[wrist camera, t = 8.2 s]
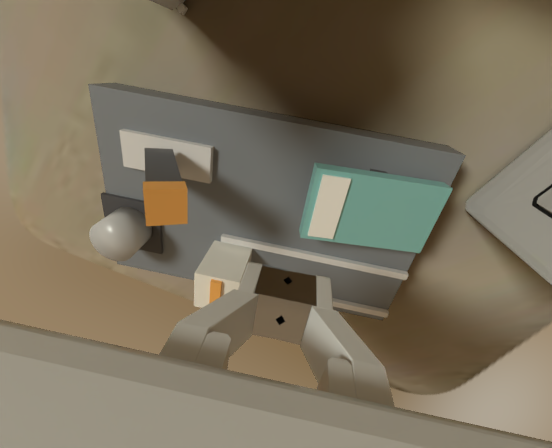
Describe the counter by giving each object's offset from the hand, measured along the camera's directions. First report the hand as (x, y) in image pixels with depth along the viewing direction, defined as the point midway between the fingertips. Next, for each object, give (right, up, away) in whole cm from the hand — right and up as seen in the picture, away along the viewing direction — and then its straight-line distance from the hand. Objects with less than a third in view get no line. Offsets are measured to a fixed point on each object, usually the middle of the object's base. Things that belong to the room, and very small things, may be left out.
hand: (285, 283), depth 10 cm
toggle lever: (-8, +6, +7) cm, 12 cm away
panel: (-1, +4, +12) cm, 13 cm away
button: (-11, +2, +11) cm, 16 cm away
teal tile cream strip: (+5, +3, +7) cm, 9 cm away
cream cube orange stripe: (-4, -1, +12) cm, 12 cm away
